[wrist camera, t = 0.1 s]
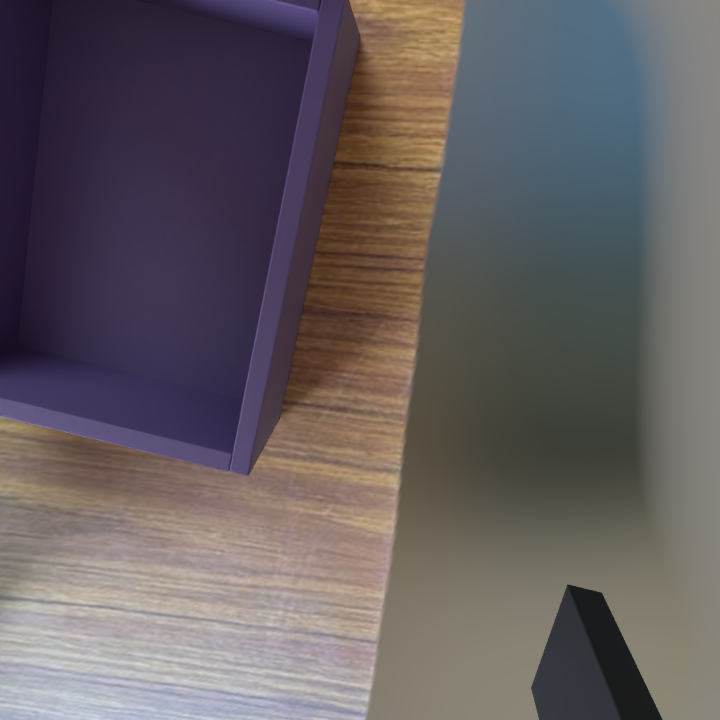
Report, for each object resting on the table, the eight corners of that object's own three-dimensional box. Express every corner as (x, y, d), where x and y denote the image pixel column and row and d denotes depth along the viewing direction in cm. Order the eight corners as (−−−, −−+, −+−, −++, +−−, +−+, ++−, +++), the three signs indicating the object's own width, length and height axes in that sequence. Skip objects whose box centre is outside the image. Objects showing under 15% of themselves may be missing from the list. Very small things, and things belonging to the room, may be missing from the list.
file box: (279, 419, 33) (248, 477, 27) (9, 354, 33) (-89, 395, 27) (360, 35, 29) (347, -8, 22) (48, -39, 29) (-58, -105, 22)
